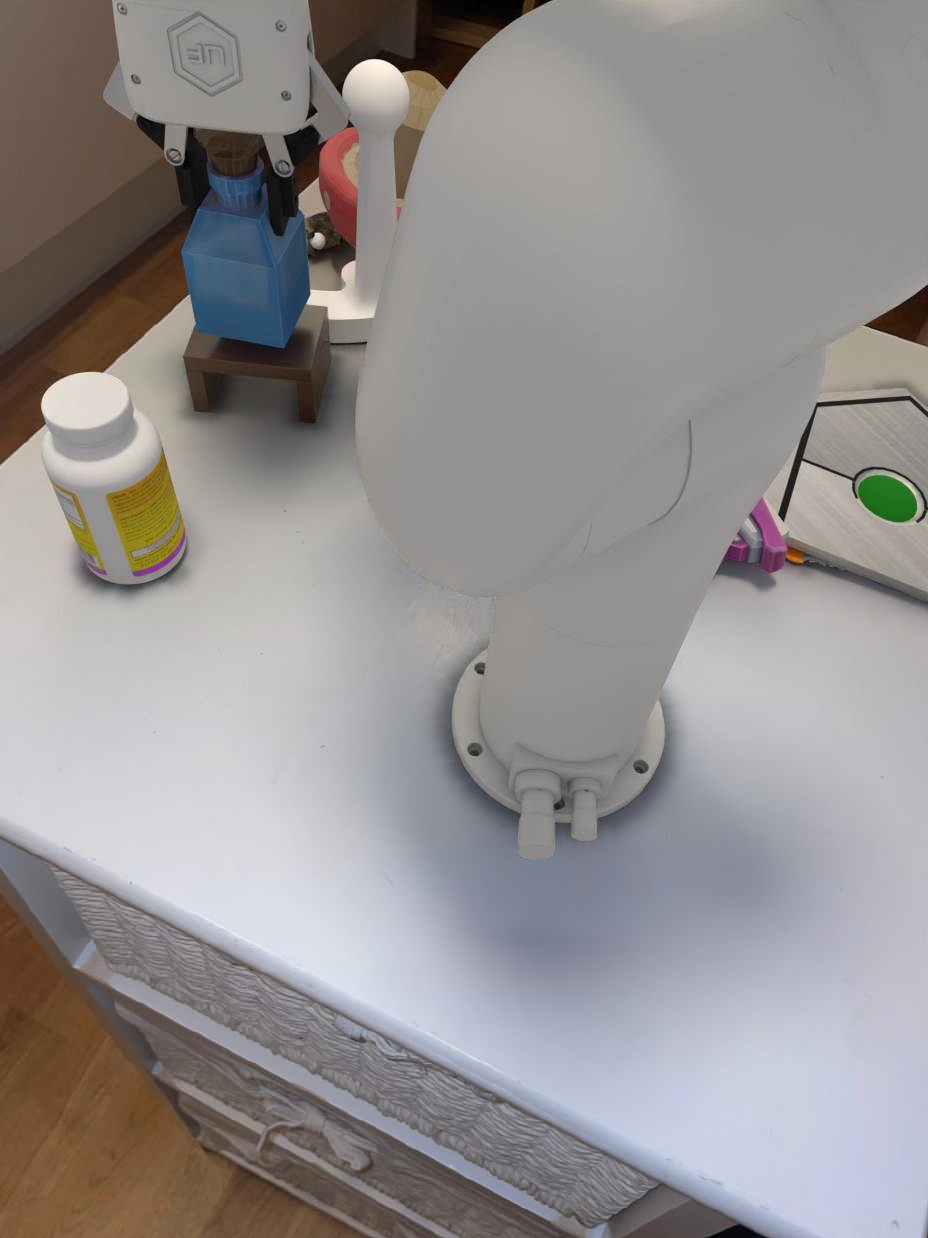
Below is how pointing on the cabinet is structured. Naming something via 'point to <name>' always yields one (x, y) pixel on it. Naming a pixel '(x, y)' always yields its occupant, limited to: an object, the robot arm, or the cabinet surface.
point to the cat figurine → (321, 233)
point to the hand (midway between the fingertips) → (242, 216)
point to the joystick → (369, 197)
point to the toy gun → (761, 539)
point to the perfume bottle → (244, 252)
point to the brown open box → (264, 362)
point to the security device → (861, 487)
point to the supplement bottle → (111, 479)
